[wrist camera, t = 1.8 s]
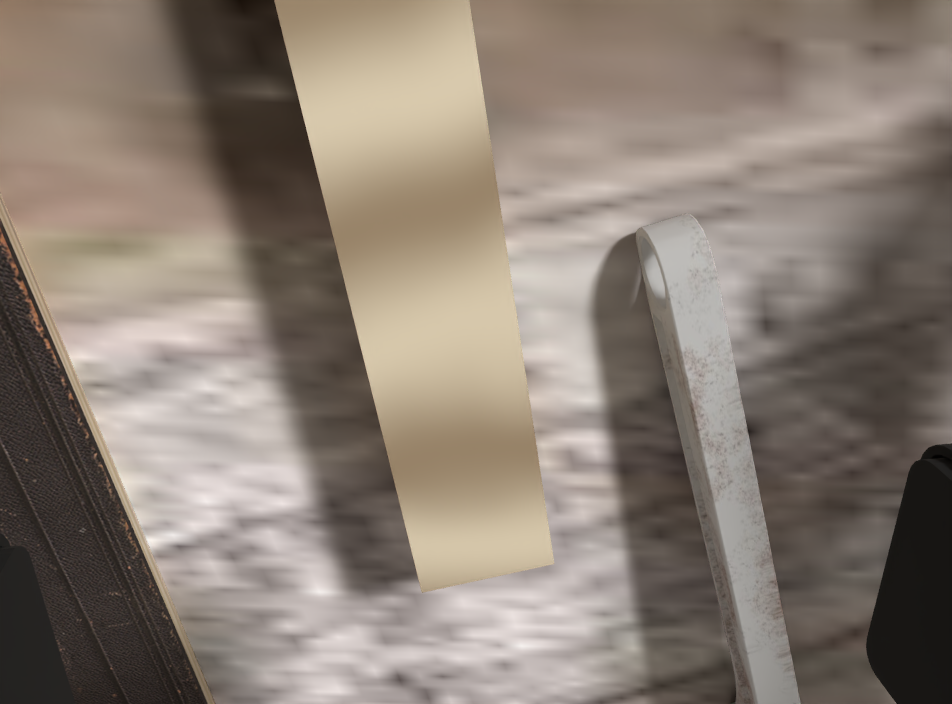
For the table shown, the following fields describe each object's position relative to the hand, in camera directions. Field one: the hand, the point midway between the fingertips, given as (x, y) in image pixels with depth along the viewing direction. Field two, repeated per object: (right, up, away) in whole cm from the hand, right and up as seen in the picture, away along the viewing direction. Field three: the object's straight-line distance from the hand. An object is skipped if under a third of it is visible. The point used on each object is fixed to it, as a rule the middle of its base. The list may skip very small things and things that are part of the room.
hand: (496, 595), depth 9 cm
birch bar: (-2, +8, +17) cm, 19 cm away
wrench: (+10, -5, +25) cm, 28 cm away
